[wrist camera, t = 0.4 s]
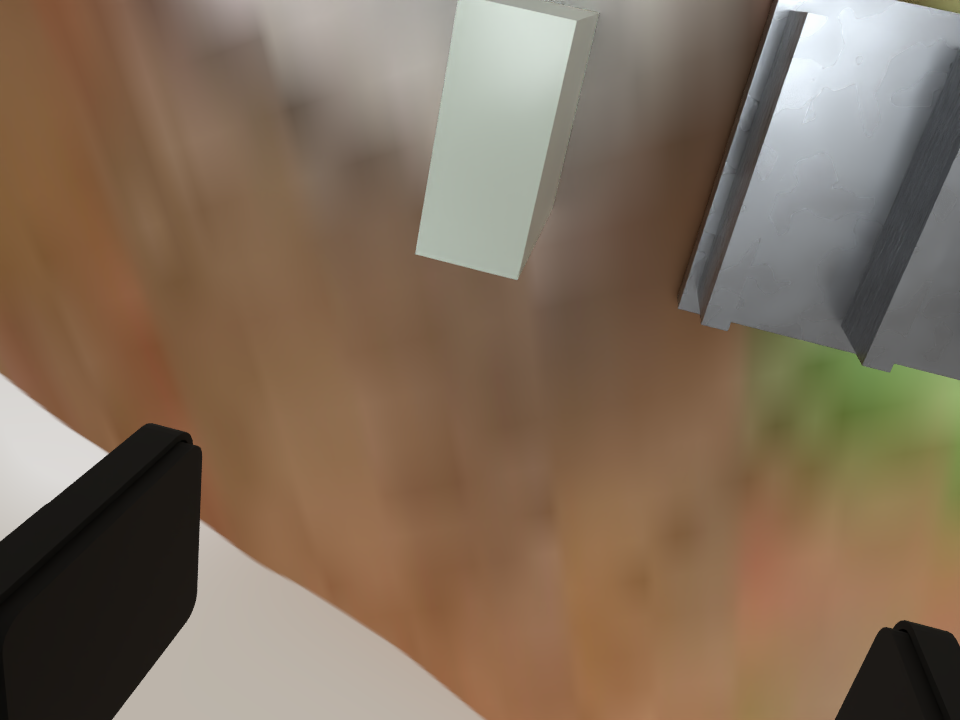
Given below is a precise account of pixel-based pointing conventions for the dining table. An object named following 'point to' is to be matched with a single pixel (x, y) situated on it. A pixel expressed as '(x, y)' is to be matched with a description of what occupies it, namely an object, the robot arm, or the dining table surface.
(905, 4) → the rack
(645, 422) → the dining table surface
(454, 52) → the pale green rectangular prism
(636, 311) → the dining table surface
